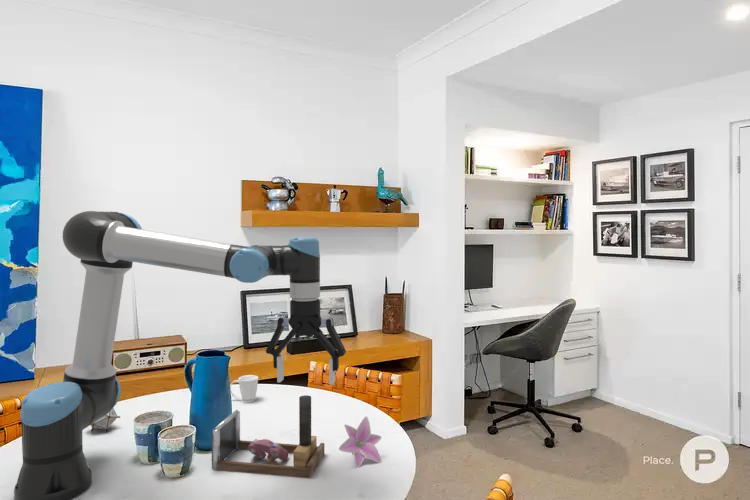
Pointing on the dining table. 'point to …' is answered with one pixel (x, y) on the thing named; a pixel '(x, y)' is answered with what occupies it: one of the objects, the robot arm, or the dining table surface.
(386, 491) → the dining table surface
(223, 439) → the grey tablet
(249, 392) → the cup
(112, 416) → the game die
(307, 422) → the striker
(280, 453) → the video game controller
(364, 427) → the lily
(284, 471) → the brown flat rectangular frame
